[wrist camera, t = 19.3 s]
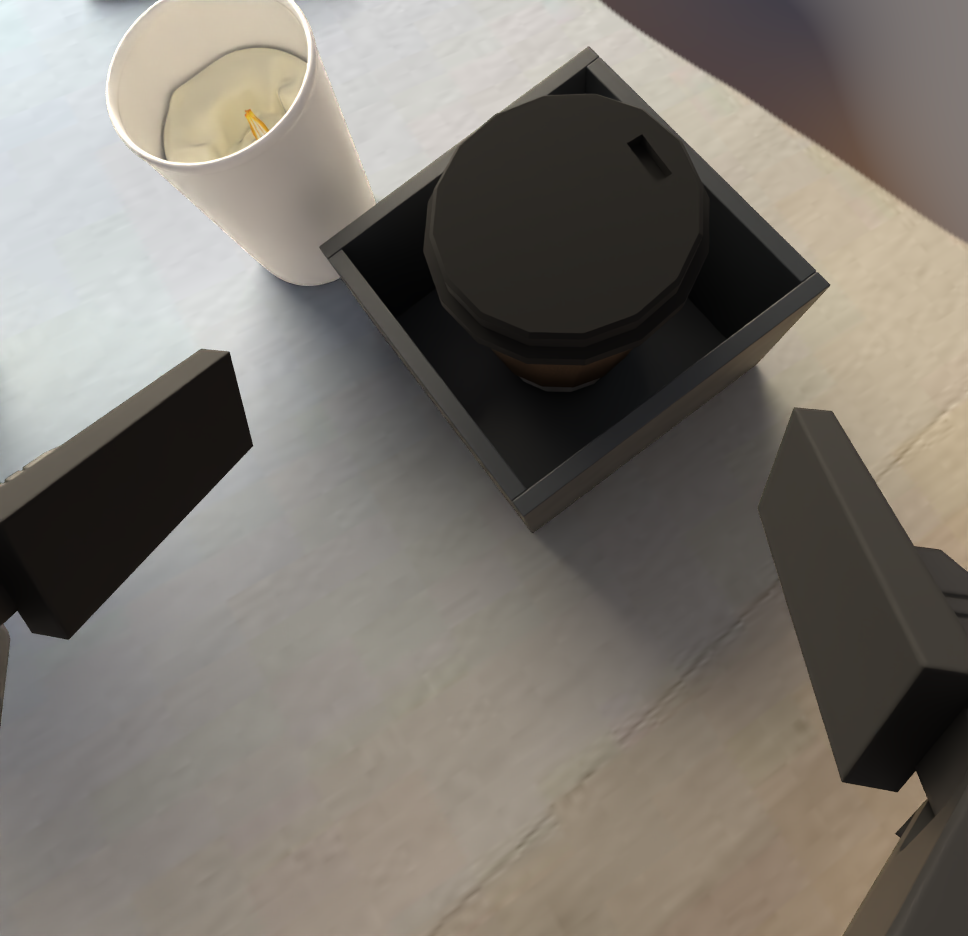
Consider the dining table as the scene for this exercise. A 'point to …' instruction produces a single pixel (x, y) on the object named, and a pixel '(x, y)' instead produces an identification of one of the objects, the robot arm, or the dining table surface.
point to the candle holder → (242, 126)
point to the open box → (625, 388)
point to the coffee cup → (566, 235)
